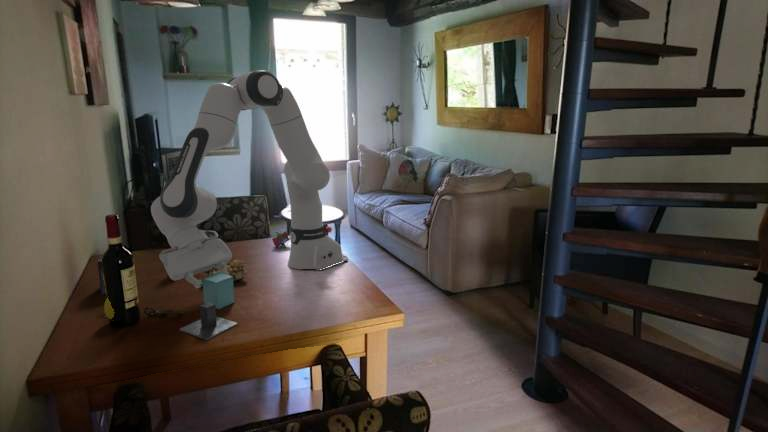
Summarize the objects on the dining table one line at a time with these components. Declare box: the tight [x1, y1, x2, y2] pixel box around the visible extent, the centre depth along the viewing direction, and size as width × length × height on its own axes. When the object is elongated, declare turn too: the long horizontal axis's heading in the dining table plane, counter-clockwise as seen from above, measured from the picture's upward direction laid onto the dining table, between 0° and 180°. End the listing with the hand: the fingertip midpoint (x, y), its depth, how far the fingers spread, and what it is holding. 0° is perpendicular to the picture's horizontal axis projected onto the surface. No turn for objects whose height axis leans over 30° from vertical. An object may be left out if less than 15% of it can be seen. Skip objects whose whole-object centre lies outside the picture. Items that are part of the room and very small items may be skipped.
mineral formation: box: [201, 259, 249, 282], centre depth 152 cm, size 8×13×15 cm
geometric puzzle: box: [272, 231, 291, 249], centre depth 190 cm, size 7×7×8 cm
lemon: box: [103, 297, 115, 320], centre depth 121 cm, size 6×6×8 cm
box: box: [97, 253, 106, 295], centre depth 142 cm, size 8×6×11 cm
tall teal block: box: [202, 273, 235, 310], centre depth 133 cm, size 6×6×8 cm
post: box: [179, 302, 239, 341], centre depth 119 cm, size 10×10×6 cm
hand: (213, 281), depth 133 cm, fingers open, 8 cm apart
